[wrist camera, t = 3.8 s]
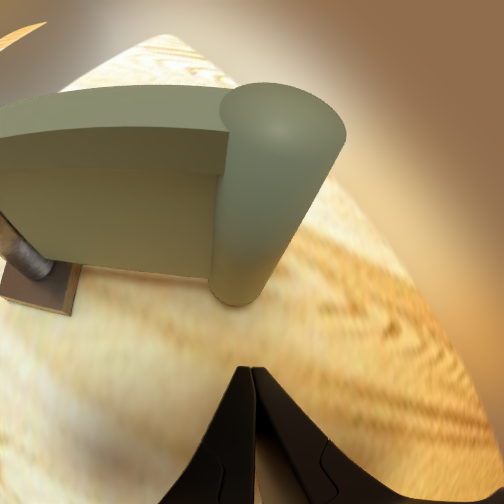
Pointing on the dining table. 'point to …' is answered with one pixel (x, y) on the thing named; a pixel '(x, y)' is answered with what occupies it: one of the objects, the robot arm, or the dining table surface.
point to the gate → (168, 177)
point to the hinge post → (35, 274)
